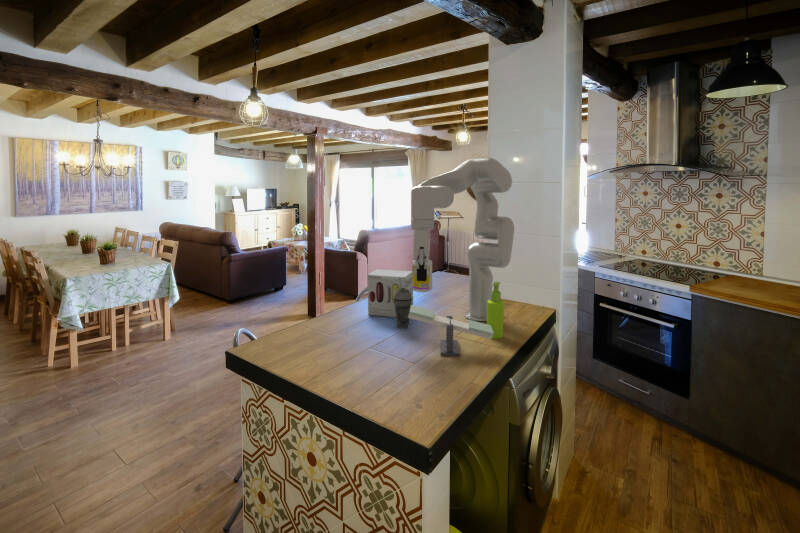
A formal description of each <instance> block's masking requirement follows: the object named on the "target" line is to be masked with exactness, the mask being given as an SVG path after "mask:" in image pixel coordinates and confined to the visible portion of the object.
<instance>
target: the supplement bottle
mask: <svg viewBox="0 0 800 533" xmlns="http://www.w3.org/2000/svg"><path fill="white" fill-rule="evenodd" d="M423 259H425V258H423ZM411 264H412V265H411V268H412V270H411V271H412V289H413V292H418V293H427V292H431V291H432V290H433V261H432V260H431V259H430V258H428V260H426V269H427V280H426V281H417V265H418V257H417V259H416V260H414V259H413V260H412V263H411Z"/></svg>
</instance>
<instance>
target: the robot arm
mask: <svg viewBox="0 0 800 533" xmlns="http://www.w3.org/2000/svg"><path fill="white" fill-rule="evenodd" d="M512 184H513V179H512V175H511V173H510V172H509V170H508V169H507V168H506V167H505V166H504V165H503V164H502V163H501V162H500V161H498V160H497V159H495V158H494V157H493V158H492V157H482V158H481V157H479V158H478V157H477V158H469V159H467V160H465V161H464V162H462V163H460V164H459V165H458V166H456V167H454V168H453V169H452V170H450V171H447V172H444V173H442V174H439V175H437V176H433V177H430V178H428V179H427V180H425V181H423V182H421V183H420V184H418V185H417V186H413V187H412V189H411V192H410V230H413V251H412V252H413V253H412V254H413V257H412V258H413V259H412V260H413V261H414V260H416V259H417V257H418V265H417V281H426V280H427V269H426V260H428V258H429V257H430V251H431V231H432V230H435V209H437V210H438V209H448V208H449V207H451V205H452V204H453V202H454V199H455V195H456V194H460V193H463V192H465V191H466V190H467V189H469V188H470V189H471V192H473V195H474V197H475V200H476V214H475V221H474V229H473V230H474V236H476V238H478V239H481V240H488V241H489V240H490V241H491V240H492V241H497V243H493V242H482V241H477V242H473V243H471V244H470V245H469V246H468V249H467V252H466V253H467V255H466V256H467V261H468V268H469V269H468V272H469V278H468V279H469V280H468V311H466V312H464V318H466V319H467V320H472V321H476V322H487V301H488V300H491V292H492V291H493V283H494V277H493V273H492V270H491V269H490V268H491V267H492V268H499V269H502V268H503V269H505V268H506V267H508V266H509V265H510V262H511V258H512V250H513V244H514V236H515V225H514V222H513V220H512V219H511V218H510V217H509V216H501V215H500V216H499V215H498V213H499V202H498V200H497V198H496V196H495V195H494V193H495V194H496V193H498V194H499V193H501V194H503V193H506V192H509V191H510V189H511V187H512ZM423 258H425V259H423ZM429 259H430V258H429Z"/></svg>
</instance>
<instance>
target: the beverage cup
mask: <svg viewBox="0 0 800 533" xmlns="http://www.w3.org/2000/svg"><path fill="white" fill-rule="evenodd" d="M399 282H400V289H398V290H397V291H396V292H395V294H394V304H395V311H396V317H395V319H396V326H397V328H398V329H402V330H403V329H408V328H409V325H410V318H408V316H409V312H410V305H411V300H412V296H411V293H410V291H409V290H407V289H406V288H402V287H401V280H400V277H399Z"/></svg>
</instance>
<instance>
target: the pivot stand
mask: <svg viewBox="0 0 800 533" xmlns="http://www.w3.org/2000/svg"><path fill="white" fill-rule="evenodd" d="M446 318H451V319H453V315H446ZM445 330H446V331H445V333H446V334H445V336H446V337H445V338H446V339H440V341H439V342H440V346H439V347H440V348H439V349H440V356H441V357H460V348H459V340H458V339H454V330H453V324H447V328H446V329H445Z"/></svg>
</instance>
